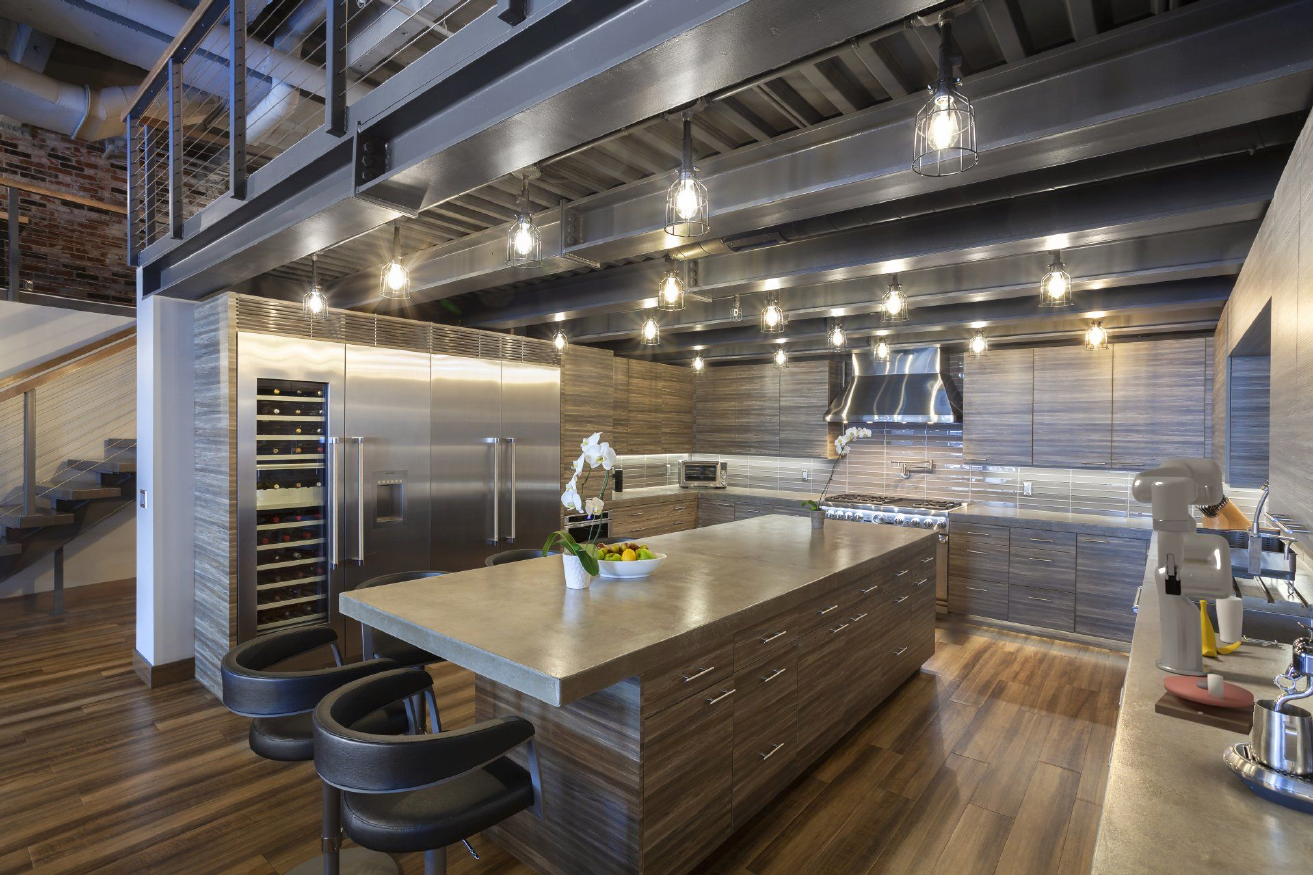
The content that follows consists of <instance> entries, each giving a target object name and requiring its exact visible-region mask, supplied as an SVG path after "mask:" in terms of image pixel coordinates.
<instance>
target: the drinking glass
mask: <svg viewBox="0 0 1313 875" xmlns="http://www.w3.org/2000/svg"><path fill="white" fill-rule="evenodd" d="M1215 608H1216V616H1217V622H1218V623H1217V624H1218V629H1219V638H1220V641H1221V642H1224V643H1226V644H1230V645H1232V644H1235V643H1236V642H1238V641H1239V642H1241V643H1242V632H1243V618H1244V604H1243V598H1241V597H1236V596H1233V595H1231V596H1230V597H1229V598H1227V599H1215Z"/></svg>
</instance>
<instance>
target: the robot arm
mask: <svg viewBox="0 0 1313 875" xmlns="http://www.w3.org/2000/svg"><path fill="white" fill-rule="evenodd" d="M1223 485H1224V484H1223V474H1222V470H1221V467H1220V465H1219V464H1218V462H1216V461H1215V460H1214V459H1211V458H1207V457H1205V458H1204V457H1203V458H1201V457H1200V458H1199V457H1197V458H1195V457H1194V458H1193V457H1191V458H1189V457H1188V458H1187V457H1186V458H1183V457H1182V458H1170V459H1166V460H1164V461H1163V462H1161V463H1160V464H1159V466H1158V467H1157V468H1152V469H1148V470H1143V471H1140V472H1138V473H1137V474H1136V475H1135V477H1134V478H1133V481H1132V484H1131V492H1132V496H1133V498H1134V500H1135V501H1136V502H1138V503H1142V504H1151V512H1152V514H1151V515H1152V516H1151V517H1152V531H1153V532H1157V566H1156V567H1155V568H1154V569H1155V570H1154V580H1155V584H1156V589H1157V595H1158V603H1159V604H1158V605H1159V625H1160V628H1159V629H1160V631H1159V632H1160V653H1161V654H1160V656H1161V658H1158V659H1156V660H1155V661H1154V662H1155V663H1154V664H1155V666H1156V668H1159V669H1161V670H1164V671H1166V672H1170V673H1173V674H1177V675H1179V674H1180V675H1182V676H1194V677H1203V676H1205V677H1206V676H1208V674H1211V669H1210V668H1209V667H1208V666H1206V665H1204V663H1203V662H1204V660H1203V656H1204V655H1202V630H1201V609H1199V607H1198V606H1197V605H1196V604H1195V603H1194V601H1193V600H1191V599H1190V598H1202V599H1203V598H1205V599H1212V600H1216V599H1227V598H1229V597H1230V596H1232V593H1233V570H1232V557H1231V556H1232V555H1231V547H1230V544H1229V542H1228V540H1227V539H1226V538H1225V537H1224V536H1221V535H1218V534H1212V533H1199V532H1197V527H1198V526H1197V521H1196V519H1195V518H1194V517H1193V515H1191V514H1190V513H1189V506H1190V505H1191V506H1216V505H1218V504H1220V503H1221V502H1222V500H1223V497H1224V489H1223V488H1224V486H1223Z"/></svg>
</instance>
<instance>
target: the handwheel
mask: <svg viewBox="0 0 1313 875" xmlns="http://www.w3.org/2000/svg"><path fill="white" fill-rule="evenodd" d="M1163 687H1164V689H1165V690H1166V692H1167V691H1169V692H1170V693H1172V694H1174V695H1177V696H1179V697H1182V698H1185V699H1188V700H1192V701H1195V702H1199V703H1204V704H1209V705H1215V706H1223V707H1248V706H1251V705H1253V704H1254V702H1255V696H1254V693H1252V692H1251V691H1249V690H1248V689H1246V688H1245V687H1244V688H1243V687H1241V686H1239V685H1236V684H1234V683H1229V682H1226V681H1224V676H1222V675H1219V674H1216V673H1215V674H1214V673H1210V674H1208V675H1207V677H1203V676H1192V675H1170V676H1167V677H1165V678H1163Z"/></svg>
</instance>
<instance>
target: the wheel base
mask: <svg viewBox="0 0 1313 875" xmlns="http://www.w3.org/2000/svg"><path fill="white" fill-rule="evenodd" d="M1255 703H1256V701H1254V704H1253V705H1251V706H1248V707H1223V706H1215V705H1209V704H1204V703H1199V702H1195V701H1192V700H1188V699H1185V698H1182V697H1179V696H1177V695H1174V694H1172V693H1170V692H1169V691H1167V690H1166V692H1165V693H1164V694H1163V695H1162V696H1161V697H1160V698H1159V699H1158V700H1157V702H1155V703H1154V712H1155V714H1156V713H1157V714H1160V715H1164V716H1168V717H1173V718H1176V719H1181V720H1185V721H1189V722H1193V723H1198V724H1202V725H1204V726H1205V725H1206V726H1210V727H1214V728H1218V729H1222V730H1226V731H1230V732H1234V733H1239V734H1243V735H1247V736H1249V735H1250V734H1251V731H1252V730H1253V728H1254V726H1253V712H1254V705H1255ZM1252 727H1253V728H1252Z"/></svg>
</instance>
